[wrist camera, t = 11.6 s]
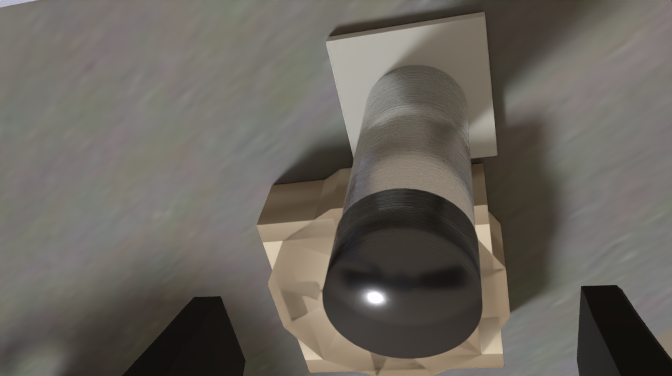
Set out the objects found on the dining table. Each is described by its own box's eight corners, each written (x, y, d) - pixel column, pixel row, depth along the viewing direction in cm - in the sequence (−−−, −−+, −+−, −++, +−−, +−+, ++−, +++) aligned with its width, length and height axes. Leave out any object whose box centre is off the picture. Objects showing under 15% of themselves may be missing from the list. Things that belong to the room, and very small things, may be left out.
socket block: (259, 177, 24) (242, 217, 22) (493, 152, 22) (499, 193, 20) (313, 334, 29) (303, 378, 27) (509, 325, 27) (515, 373, 24)
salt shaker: (365, 154, 22) (328, 353, 15) (362, 63, 20) (315, 240, 13) (466, 157, 22) (476, 364, 14) (472, 63, 20) (489, 248, 12)
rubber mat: (327, 36, 20) (325, 41, 20) (484, 11, 19) (484, 16, 19) (357, 164, 23) (356, 171, 23) (496, 149, 22) (497, 155, 21)
